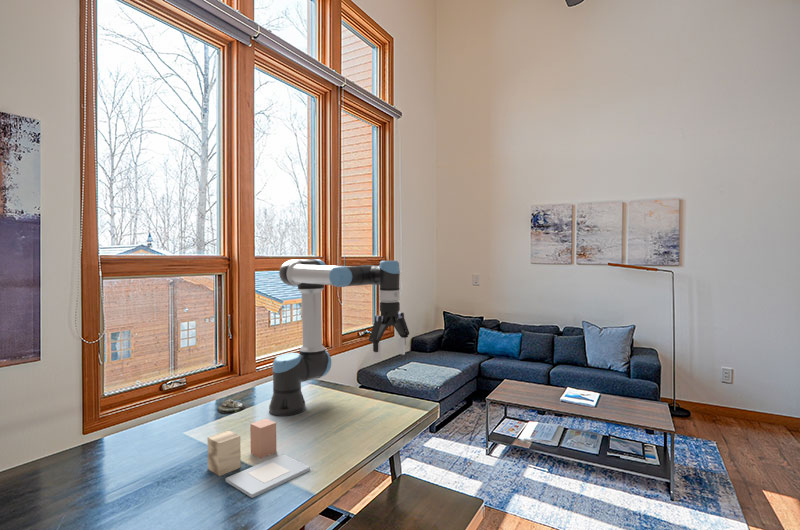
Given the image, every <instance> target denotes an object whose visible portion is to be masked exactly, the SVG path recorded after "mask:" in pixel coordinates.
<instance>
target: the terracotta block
mask: <svg viewBox="0 0 800 530" xmlns="http://www.w3.org/2000/svg"><path fill="white" fill-rule="evenodd" d="M249 424H250V434H249V435H250V454H252V455H253V456H255V457H258V458H259V459H263V458H265V457H268V456H271V455H272V454H275V453H277V451H278V450H277V422H276V421H273V420H270V419H268V418H263V419H261V420H258V421H255V422H252V423H249Z"/></svg>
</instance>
